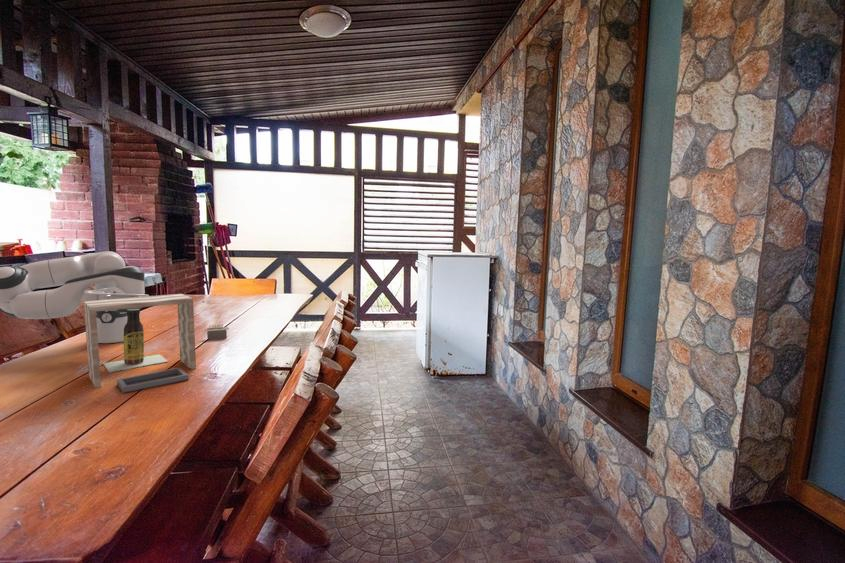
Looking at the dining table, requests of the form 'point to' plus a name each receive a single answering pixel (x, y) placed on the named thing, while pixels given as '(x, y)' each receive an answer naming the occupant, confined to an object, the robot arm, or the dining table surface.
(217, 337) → the platform
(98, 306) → the tunnel
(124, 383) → the tray
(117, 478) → the dining table surface
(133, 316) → the sauce bottle
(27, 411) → the dining table surface
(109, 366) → the pad
